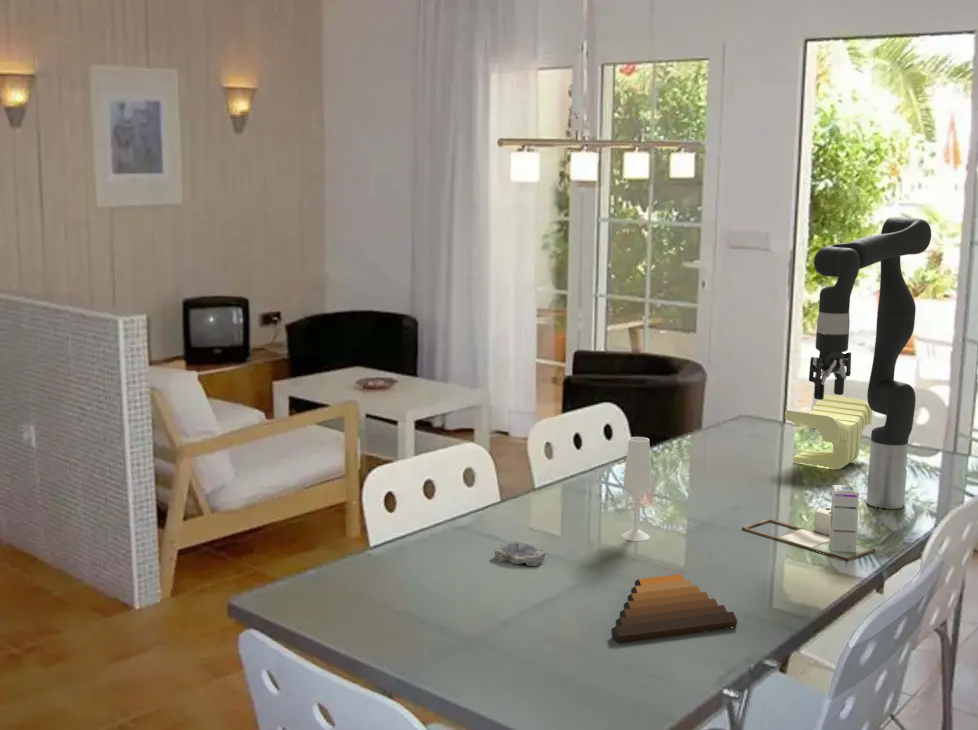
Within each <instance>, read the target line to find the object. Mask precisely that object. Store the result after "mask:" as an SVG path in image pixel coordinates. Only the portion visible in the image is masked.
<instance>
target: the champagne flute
mask: <svg viewBox="0 0 978 730" xmlns="http://www.w3.org/2000/svg"><path fill="white" fill-rule="evenodd" d="M627 445H628V446H627V454H626V459H625V461H626V462H625V469H624V477H623V486H624V489H625V490H626V491H627V493H628V494H629V495H630V496H631V497H633V498H634V507H633V508H634V509H633V528H632V529H630V530H628V531H626V532H625V533H622V535H621V538H623V539H624V540H627V541H631V542H643V541H647V540H649V539H650V538H651V537H650V535H649V534H647V533H646V532H645V531H642V530H641V529H639V524H640V523H639V521H640V519H639V518H640V498H642V497H644V496H645V495H646V494H647V493H648V492H649V491H650V489H651V488H652V485H653V482H652V465H651V447H650V445H651V444H650V439H649V438H648V437H644V436H632V437H629V438H628V444H627Z"/></svg>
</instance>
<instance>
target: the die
mask: <svg viewBox="0 0 978 730" xmlns="http://www.w3.org/2000/svg"><path fill="white" fill-rule="evenodd" d="M813 517H814V518H813V519H814V520H813V531H814V532H818V533H821V534H825V535H828V536H830V524H831V507H827V506H826V507H825V506H824V507H822V508H820V509H817V510H814V516H813Z"/></svg>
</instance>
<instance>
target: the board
mask: <svg viewBox="0 0 978 730" xmlns="http://www.w3.org/2000/svg"><path fill="white" fill-rule="evenodd" d="M767 523H773V524H777V525H781V526H785V527H788V528H791V529H793V530H792V531H790V532H785V533H783V534H781V535H778V536H775V535H772V534H768V533H765V532H762V531H758V530H755V529H752V528H754V527H758V526H761V525H764V524H767ZM794 529H795V530H794ZM741 530H743V531H745V532H749V533H753V534H756V535H758V536H762V537H765V538H768V539H772V540H776V541H780V542H783V543H786V544H789V545H791V546H792V545H793V546H795V547H798V548H802V549H805V548H806V550H808V549H810V550H809V551H812V550H814V551H813V552H815V551H818V552H821V553H820V554H822V553H824V554H823V555H825V554H826V556H828V555H829V557H833V558H835V559H839V560H842V561H846V562H850V561H852V560H856V559H859V558H861V557H863V556H866V555H868V554H870V553H873V552H875V551H876V550H875V548H873V547H871V546H870V547H869V546H866V545H863V544H859V543H856V553H850V552H838V551H831V548H830V535H827V534H824V533H821V532H817V531H814V530H811V529H806V528H803V527H800V526H796V525H792V524H789V523H787V522H786V523H785V522H782V521H778V520H775V519H772V518H768V519H764V520H761V521H759V522H754V523H752V524H749V525H746V526H743V527H741ZM818 552H817V553H818Z"/></svg>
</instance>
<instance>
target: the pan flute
mask: <svg viewBox="0 0 978 730" xmlns="http://www.w3.org/2000/svg"><path fill="white" fill-rule="evenodd" d="M630 591H631V593H630V594H629V595H627V601H626V602H624V603H623V609H622V610H621V611H619V618H616V620H615V626H614V627H613V628H612V627H611V629H610V630H611V639H613V640H614V642H615V643H617V644H622V643H630V642H637V641H645V640H653V639H654V640H655V639H660V638H668V636H669V637H675V635H677V636H683V634H685V635H691V634H698V632H700V633H705V632H704V631H708V632H713V631H712V630H715V631H721V630H720V629H723V630H726V629H725V628H731V627H736V628H737V625H738V619H737V617H736V615H735V613H734V611H727V609H726V607H725V604H720V605H719V604H718V602H717V600H716V598H709V595H708V593H707V592H706V591H703V592H701V591H700V588H699V586H698V585H696V586H695V585H694V586H693V585H692V582H691V580H690V579H686V580H685V579H684V576H683V574H682V573H680V574H672V575H671V574H670V575H662V576H654V577H645V578H644V577H643V578H638V579H636V580H635V581H634V586H633V587H632V588H631V589H630ZM731 629H732V628H731Z"/></svg>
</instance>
